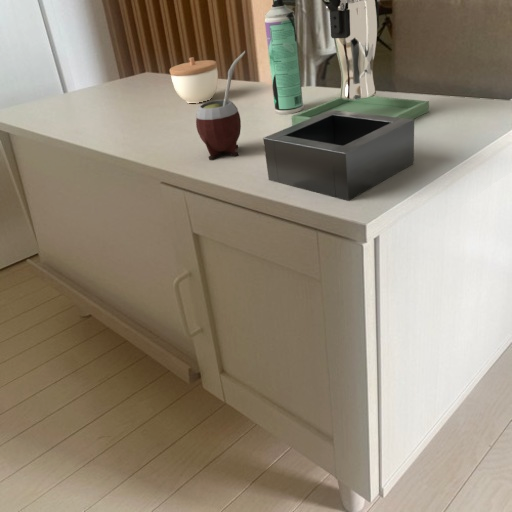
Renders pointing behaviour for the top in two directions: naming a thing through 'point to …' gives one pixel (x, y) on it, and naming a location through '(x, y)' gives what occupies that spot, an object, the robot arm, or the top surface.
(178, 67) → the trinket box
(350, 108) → the tray
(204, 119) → the mate gourd
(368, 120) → the basin
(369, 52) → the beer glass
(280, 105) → the spray can
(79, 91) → the top surface
